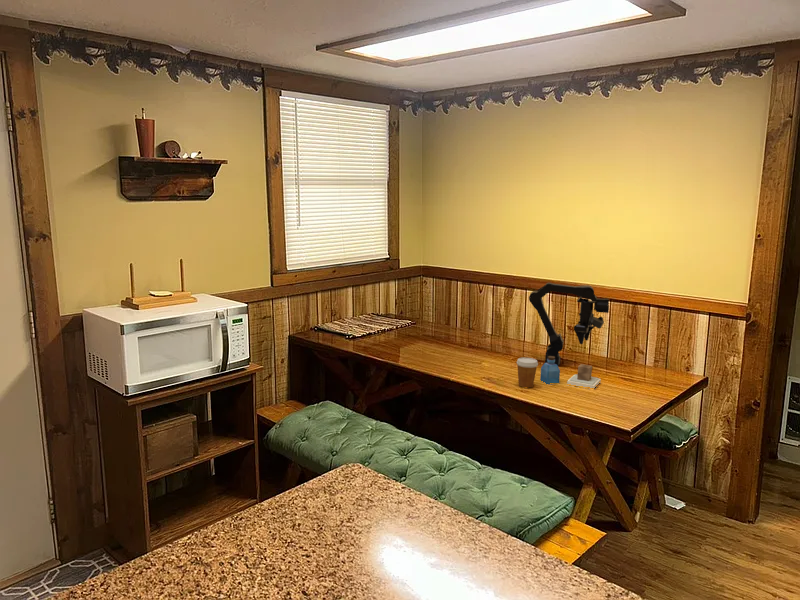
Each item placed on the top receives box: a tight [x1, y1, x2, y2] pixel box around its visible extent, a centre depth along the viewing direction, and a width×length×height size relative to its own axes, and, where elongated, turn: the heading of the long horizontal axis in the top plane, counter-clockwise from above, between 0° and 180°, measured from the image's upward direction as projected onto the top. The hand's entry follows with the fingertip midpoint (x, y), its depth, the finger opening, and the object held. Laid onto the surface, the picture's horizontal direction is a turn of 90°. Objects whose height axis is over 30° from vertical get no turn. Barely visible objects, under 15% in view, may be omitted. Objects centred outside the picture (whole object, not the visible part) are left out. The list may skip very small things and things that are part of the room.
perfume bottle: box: [539, 356, 561, 385], centre depth 283 cm, size 6×6×12 cm
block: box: [577, 363, 593, 381], centre depth 281 cm, size 5×5×6 cm
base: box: [566, 373, 602, 389], centre depth 282 cm, size 12×12×2 cm
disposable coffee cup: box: [516, 357, 539, 388], centre depth 276 cm, size 10×10×12 cm
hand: (583, 342), depth 305 cm, fingers open, 9 cm apart
